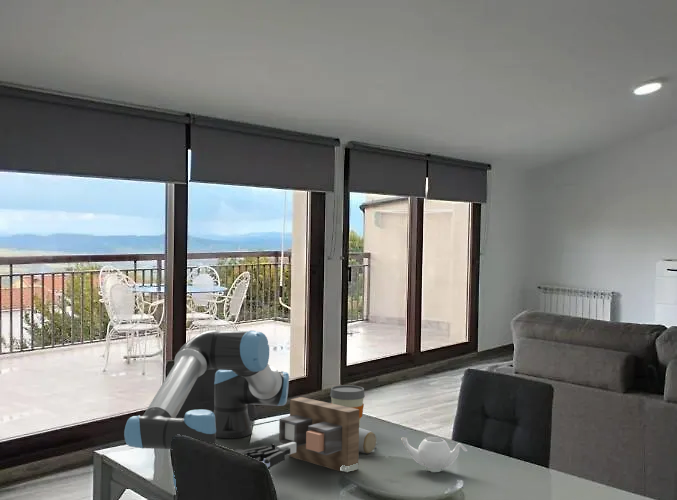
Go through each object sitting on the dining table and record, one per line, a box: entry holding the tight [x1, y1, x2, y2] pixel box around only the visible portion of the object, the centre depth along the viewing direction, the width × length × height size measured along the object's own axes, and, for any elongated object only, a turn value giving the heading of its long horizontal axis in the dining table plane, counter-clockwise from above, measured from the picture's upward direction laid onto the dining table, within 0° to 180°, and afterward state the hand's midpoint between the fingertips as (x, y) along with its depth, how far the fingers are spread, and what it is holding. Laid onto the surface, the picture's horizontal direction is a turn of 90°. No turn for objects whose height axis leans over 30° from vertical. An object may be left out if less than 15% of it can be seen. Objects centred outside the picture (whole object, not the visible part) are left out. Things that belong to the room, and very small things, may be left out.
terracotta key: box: [306, 430, 324, 452], centre depth 200 cm, size 5×4×5 cm
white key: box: [285, 423, 295, 441], centre depth 210 cm, size 5×4×5 cm
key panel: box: [278, 396, 360, 472], centre depth 209 cm, size 24×12×18 cm, turn 50°
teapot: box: [400, 436, 469, 469], centre depth 206 cm, size 10×20×9 cm, turn 81°
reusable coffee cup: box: [329, 384, 365, 428], centre depth 250 cm, size 13×13×15 cm
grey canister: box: [359, 427, 378, 454], centre depth 225 cm, size 11×8×8 cm
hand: (294, 447), depth 193 cm, fingers closed
